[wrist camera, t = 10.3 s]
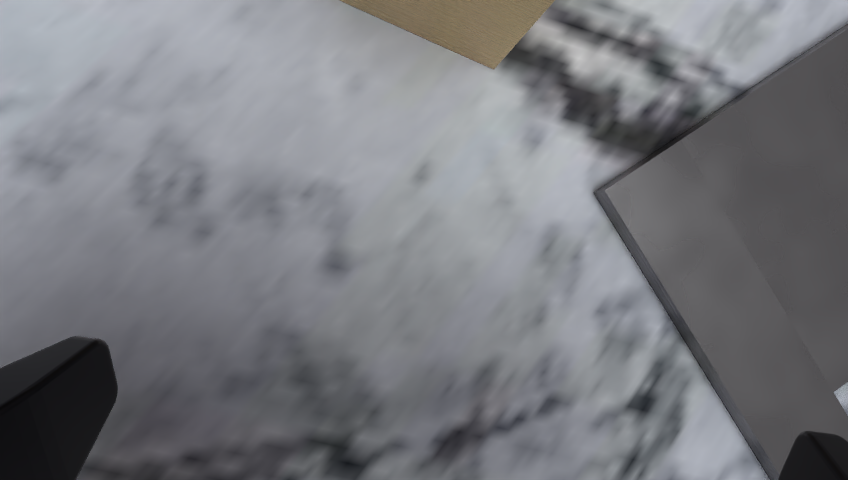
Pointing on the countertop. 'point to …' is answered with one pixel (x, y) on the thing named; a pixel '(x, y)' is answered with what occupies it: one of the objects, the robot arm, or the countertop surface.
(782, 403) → the grey plate with hole
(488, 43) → the tan square peg
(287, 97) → the countertop surface
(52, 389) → the robot arm
